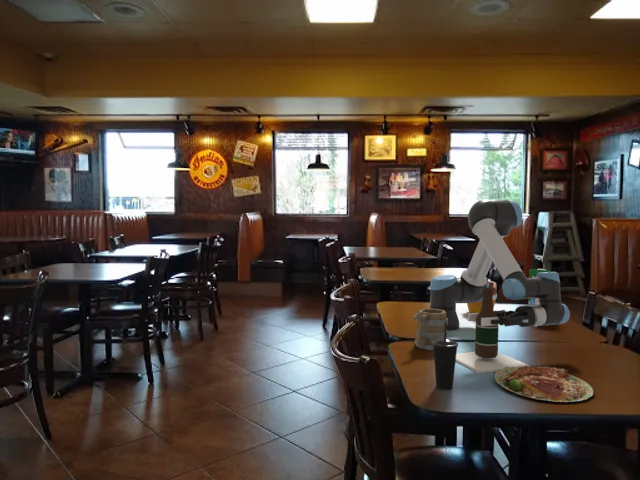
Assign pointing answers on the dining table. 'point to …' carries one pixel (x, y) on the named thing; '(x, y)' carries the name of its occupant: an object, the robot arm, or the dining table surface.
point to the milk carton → (533, 274)
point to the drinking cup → (444, 360)
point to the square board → (487, 362)
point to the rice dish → (544, 383)
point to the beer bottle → (486, 328)
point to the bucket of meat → (478, 305)
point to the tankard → (429, 327)
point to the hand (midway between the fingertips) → (475, 319)
